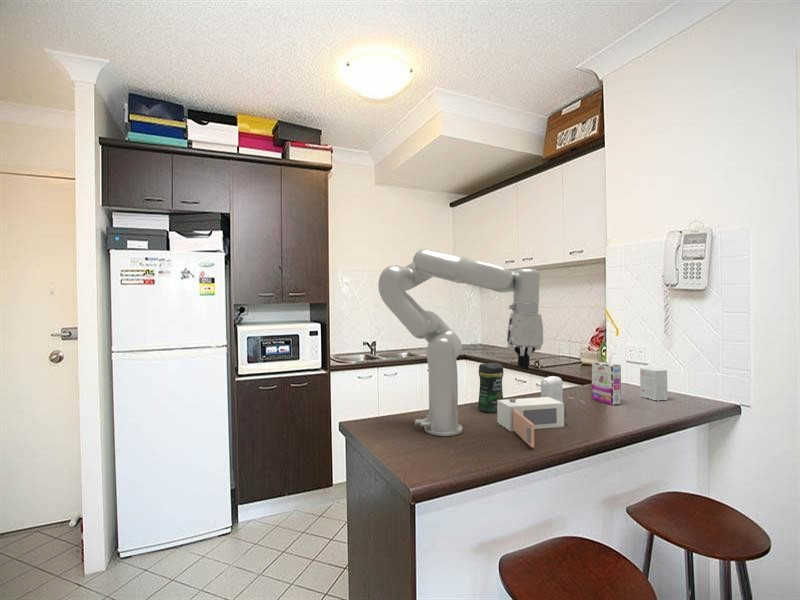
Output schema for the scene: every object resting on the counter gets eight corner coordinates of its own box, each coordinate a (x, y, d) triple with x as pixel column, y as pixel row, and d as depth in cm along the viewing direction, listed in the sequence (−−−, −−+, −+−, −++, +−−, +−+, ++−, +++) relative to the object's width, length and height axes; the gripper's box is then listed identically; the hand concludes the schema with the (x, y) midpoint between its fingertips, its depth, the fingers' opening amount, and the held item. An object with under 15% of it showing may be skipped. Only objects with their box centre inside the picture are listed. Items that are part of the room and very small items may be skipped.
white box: (510, 431, 125) (509, 403, 125) (497, 422, 134) (497, 397, 134) (569, 426, 129) (569, 399, 130) (553, 418, 138) (553, 393, 139)
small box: (668, 400, 164) (667, 370, 164) (655, 401, 162) (655, 370, 162) (651, 396, 172) (651, 367, 172) (640, 397, 170) (639, 367, 170)
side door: (509, 428, 125) (509, 408, 125) (514, 428, 125) (514, 408, 125) (528, 447, 108) (528, 424, 109) (534, 447, 109) (534, 424, 109)
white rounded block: (555, 404, 159) (554, 374, 159) (564, 406, 155) (564, 375, 156) (539, 407, 153) (539, 377, 154) (548, 410, 150) (548, 378, 150)
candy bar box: (622, 404, 157) (621, 364, 158) (612, 405, 156) (612, 365, 156) (600, 398, 168) (599, 361, 168) (591, 399, 166) (590, 361, 167)
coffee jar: (489, 414, 144) (488, 365, 145) (475, 409, 151) (474, 362, 151) (507, 410, 149) (507, 363, 149) (493, 406, 156) (492, 360, 156)
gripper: (508, 308, 113) (506, 370, 113) (554, 310, 116) (552, 370, 116) (497, 308, 120) (495, 366, 120) (541, 309, 123) (539, 366, 123)
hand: (523, 368), depth 118 cm, fingers closed
